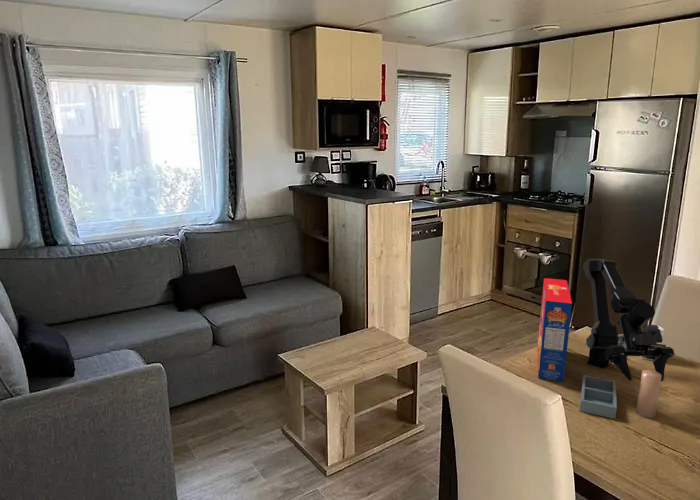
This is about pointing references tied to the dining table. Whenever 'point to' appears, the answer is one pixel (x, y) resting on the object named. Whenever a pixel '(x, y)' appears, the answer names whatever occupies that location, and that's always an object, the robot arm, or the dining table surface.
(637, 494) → the dining table surface
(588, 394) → the divided tray
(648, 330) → the medicine bottle
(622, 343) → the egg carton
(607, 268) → the robot arm
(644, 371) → the peach round cylinder
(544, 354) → the cereal box
